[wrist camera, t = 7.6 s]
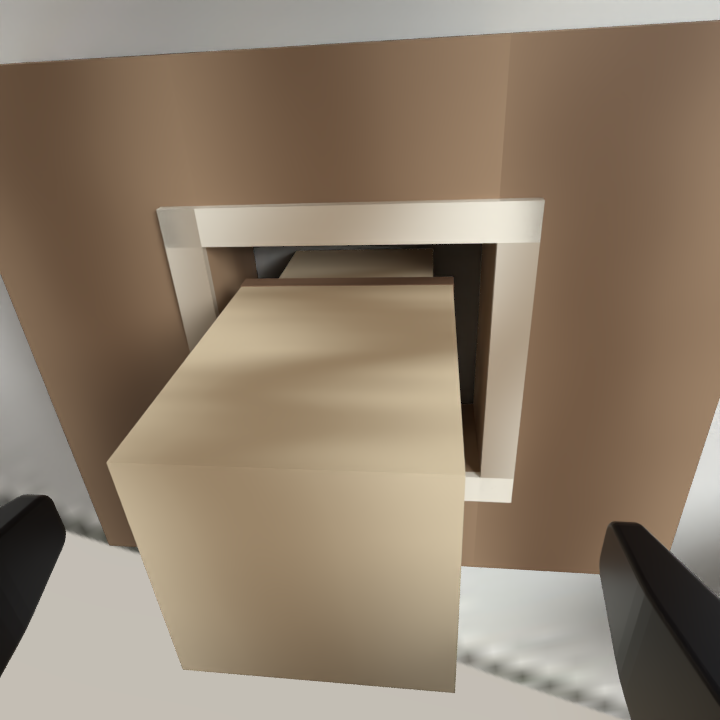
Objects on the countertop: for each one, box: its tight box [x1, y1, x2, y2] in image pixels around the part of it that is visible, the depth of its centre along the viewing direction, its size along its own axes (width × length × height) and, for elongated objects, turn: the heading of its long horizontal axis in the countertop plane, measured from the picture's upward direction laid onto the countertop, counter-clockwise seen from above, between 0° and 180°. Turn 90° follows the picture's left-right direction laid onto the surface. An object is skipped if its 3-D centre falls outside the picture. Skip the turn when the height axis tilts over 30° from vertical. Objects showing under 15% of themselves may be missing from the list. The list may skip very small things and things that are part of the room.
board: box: [0, 20, 720, 574], centre depth 14 cm, size 16×13×3 cm
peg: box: [106, 248, 466, 693], centre depth 12 cm, size 4×4×9 cm
